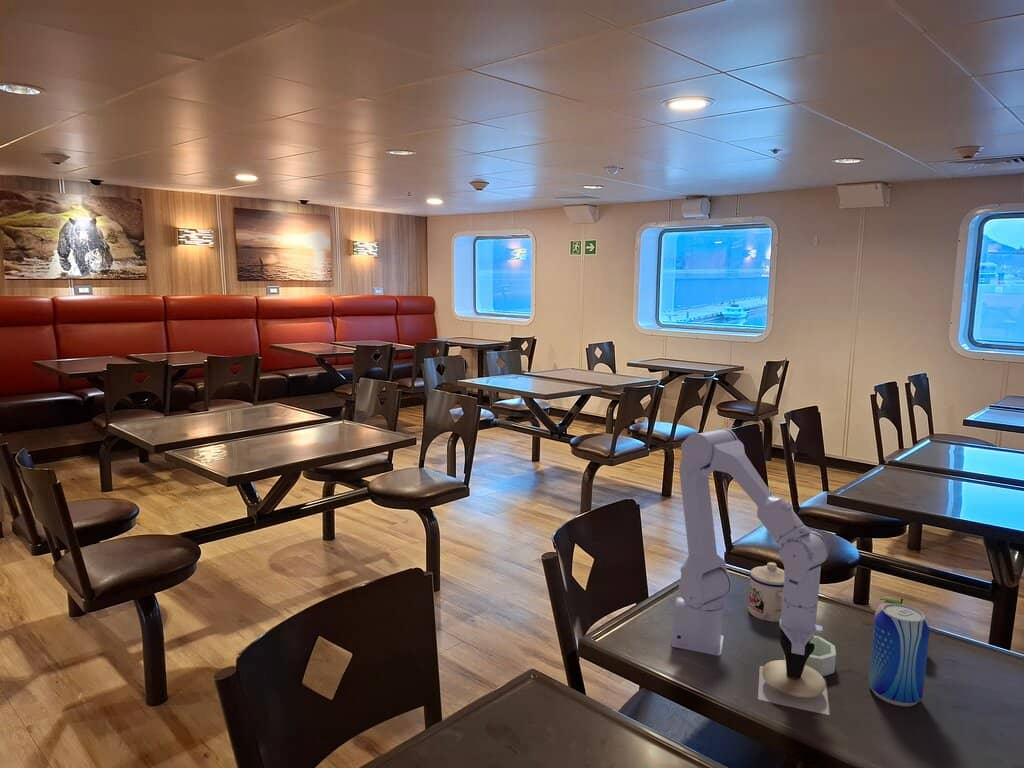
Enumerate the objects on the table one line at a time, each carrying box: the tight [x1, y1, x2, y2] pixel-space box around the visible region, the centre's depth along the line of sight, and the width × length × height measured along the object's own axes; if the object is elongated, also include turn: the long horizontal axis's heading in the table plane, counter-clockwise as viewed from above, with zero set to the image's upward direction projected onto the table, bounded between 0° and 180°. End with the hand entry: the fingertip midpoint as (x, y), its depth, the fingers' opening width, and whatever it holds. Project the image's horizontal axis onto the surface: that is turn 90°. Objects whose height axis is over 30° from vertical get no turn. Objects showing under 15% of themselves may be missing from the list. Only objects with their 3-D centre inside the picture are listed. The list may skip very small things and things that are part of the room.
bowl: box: [783, 635, 837, 677], centre depth 132 cm, size 9×9×4 cm
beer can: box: [868, 604, 931, 707], centre depth 122 cm, size 8×8×16 cm
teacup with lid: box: [747, 562, 785, 623], centre depth 151 cm, size 12×9×12 cm
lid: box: [762, 659, 825, 698], centre depth 123 cm, size 10×10×5 cm
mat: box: [757, 665, 831, 716], centre depth 124 cm, size 12×12×1 cm
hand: (793, 671), depth 123 cm, fingers closed on lid, 2 cm apart
